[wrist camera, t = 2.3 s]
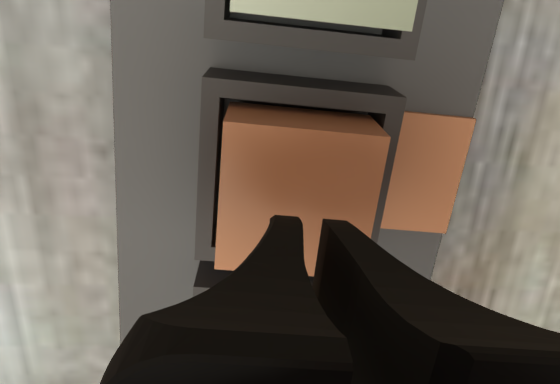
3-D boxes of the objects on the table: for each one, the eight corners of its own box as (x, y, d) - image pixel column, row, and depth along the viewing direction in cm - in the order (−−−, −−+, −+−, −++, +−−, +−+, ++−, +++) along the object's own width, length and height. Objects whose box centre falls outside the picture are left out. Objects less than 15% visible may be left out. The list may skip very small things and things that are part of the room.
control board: (530, -207, 16) (624, -280, 12) (384, 388, 26) (407, 461, 22) (121, -269, 15) (66, -372, 11) (132, 374, 25) (106, 447, 21)
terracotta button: (369, 115, 17) (390, 137, 14) (347, 238, 18) (362, 279, 16) (229, 101, 16) (223, 121, 13) (221, 228, 18) (214, 268, 15)
